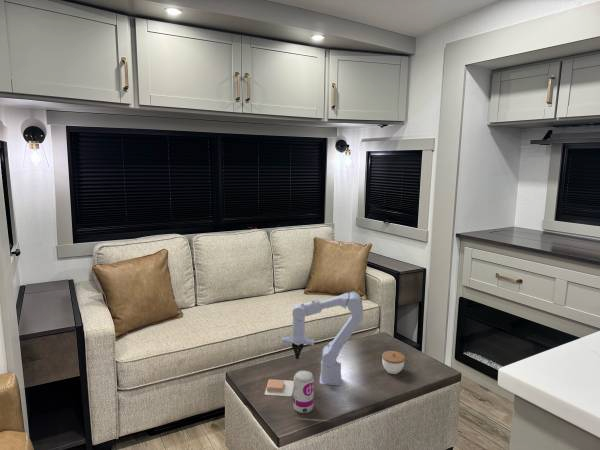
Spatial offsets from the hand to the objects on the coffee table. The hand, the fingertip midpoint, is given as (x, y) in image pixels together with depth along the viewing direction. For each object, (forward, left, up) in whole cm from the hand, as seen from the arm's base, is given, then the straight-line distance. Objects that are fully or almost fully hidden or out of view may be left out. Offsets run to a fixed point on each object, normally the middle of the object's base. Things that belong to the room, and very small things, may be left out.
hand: (297, 358), depth 189 cm
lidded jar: (-46, -12, -11) cm, 48 cm away
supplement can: (-5, +22, -11) cm, 25 cm away
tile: (+5, +9, -9) cm, 14 cm away
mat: (+7, +9, -10) cm, 15 cm away
